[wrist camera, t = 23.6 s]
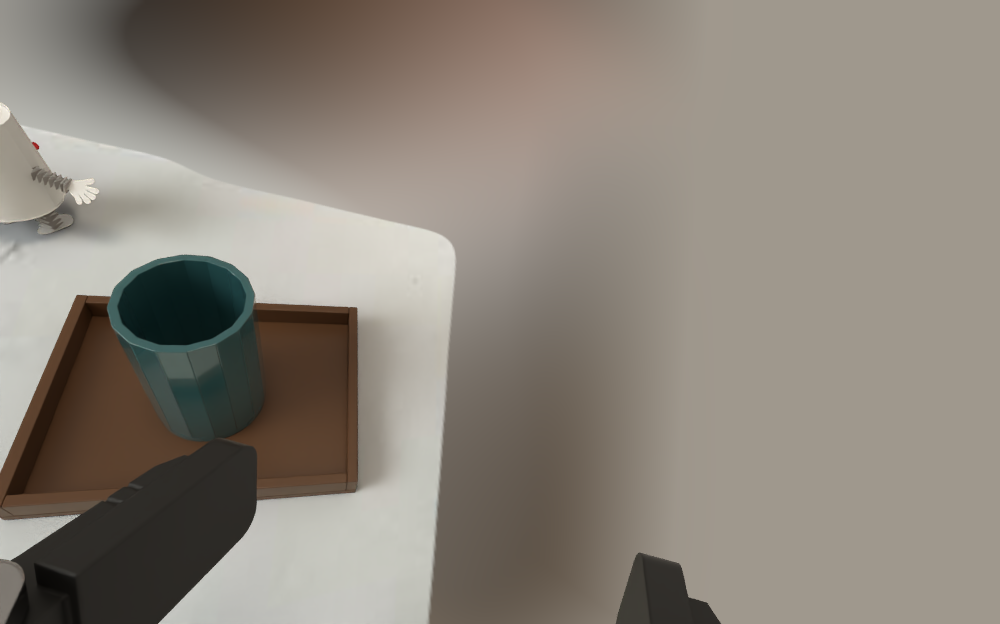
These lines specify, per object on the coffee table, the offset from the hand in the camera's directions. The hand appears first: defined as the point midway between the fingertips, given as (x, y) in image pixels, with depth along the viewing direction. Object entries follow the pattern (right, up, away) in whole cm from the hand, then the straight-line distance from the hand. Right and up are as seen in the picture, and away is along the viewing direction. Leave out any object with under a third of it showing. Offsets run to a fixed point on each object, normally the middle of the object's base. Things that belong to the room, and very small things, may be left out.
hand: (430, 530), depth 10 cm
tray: (-17, -1, +22) cm, 27 cm away
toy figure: (-33, +11, +26) cm, 43 cm away
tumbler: (-17, -1, +21) cm, 27 cm away
